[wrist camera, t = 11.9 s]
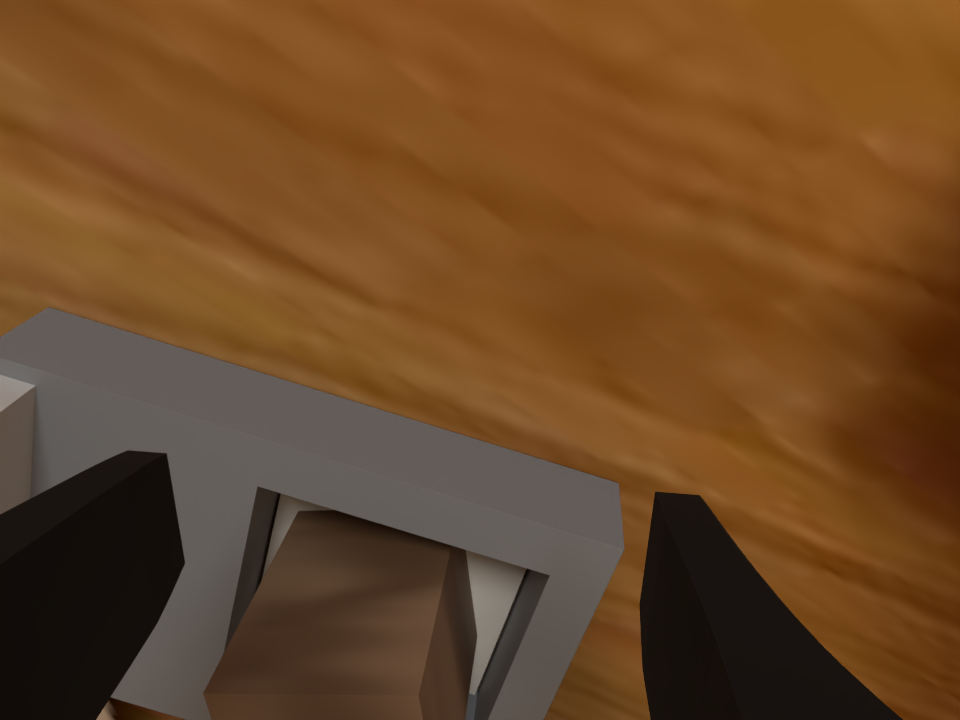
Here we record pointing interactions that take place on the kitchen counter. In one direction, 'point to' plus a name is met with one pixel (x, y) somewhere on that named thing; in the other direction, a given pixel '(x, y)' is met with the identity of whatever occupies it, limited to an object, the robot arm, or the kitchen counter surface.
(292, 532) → the walnut peg
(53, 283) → the kitchen counter surface
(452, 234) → the kitchen counter surface
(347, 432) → the socket block
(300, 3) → the kitchen counter surface
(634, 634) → the kitchen counter surface
